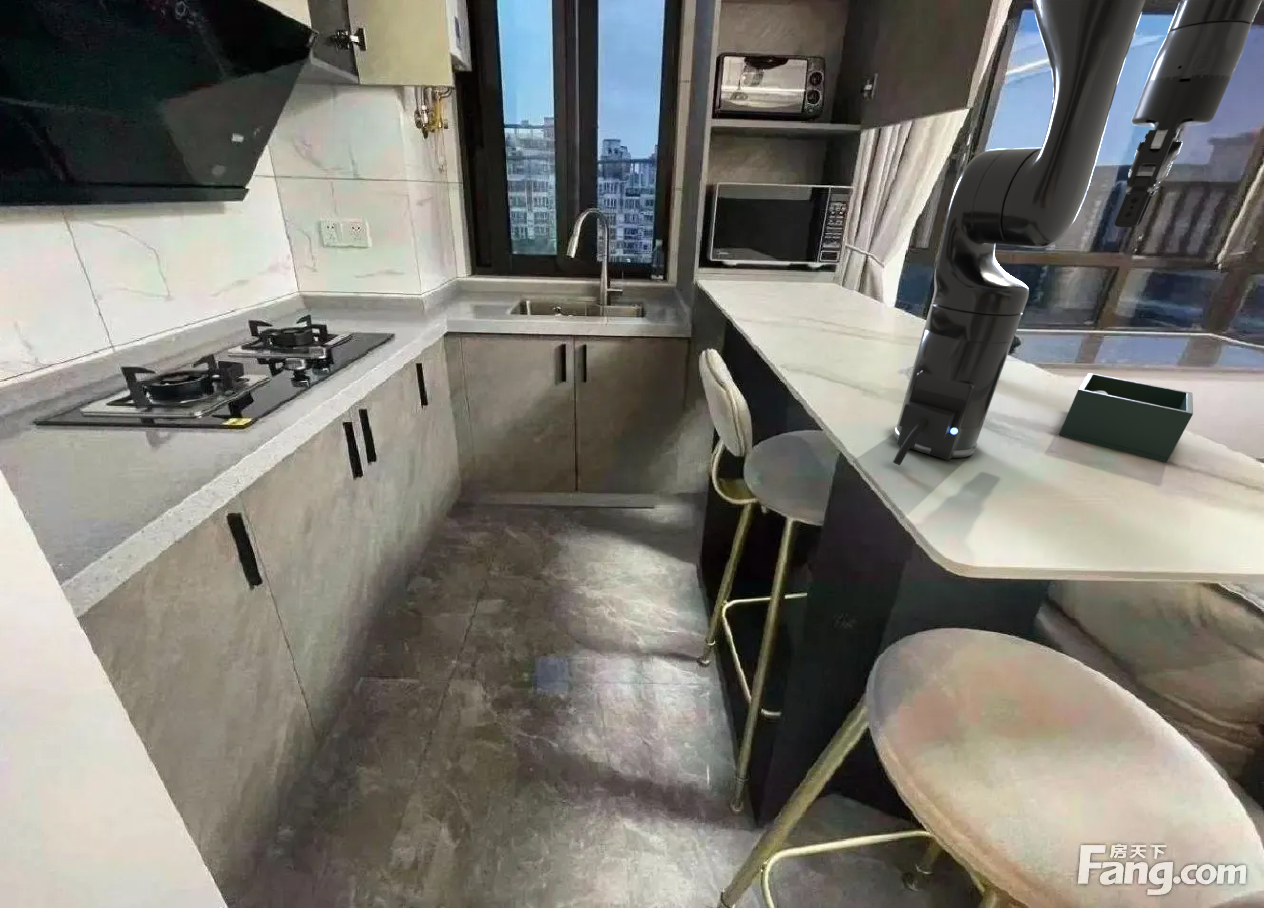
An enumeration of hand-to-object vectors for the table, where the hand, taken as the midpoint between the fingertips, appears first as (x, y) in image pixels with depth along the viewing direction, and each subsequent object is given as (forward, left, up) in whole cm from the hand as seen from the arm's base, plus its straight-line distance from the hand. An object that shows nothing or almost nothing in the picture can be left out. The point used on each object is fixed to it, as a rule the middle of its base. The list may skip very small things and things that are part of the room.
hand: (1126, 226), depth 71 cm
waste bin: (-5, -8, -26) cm, 28 cm away
